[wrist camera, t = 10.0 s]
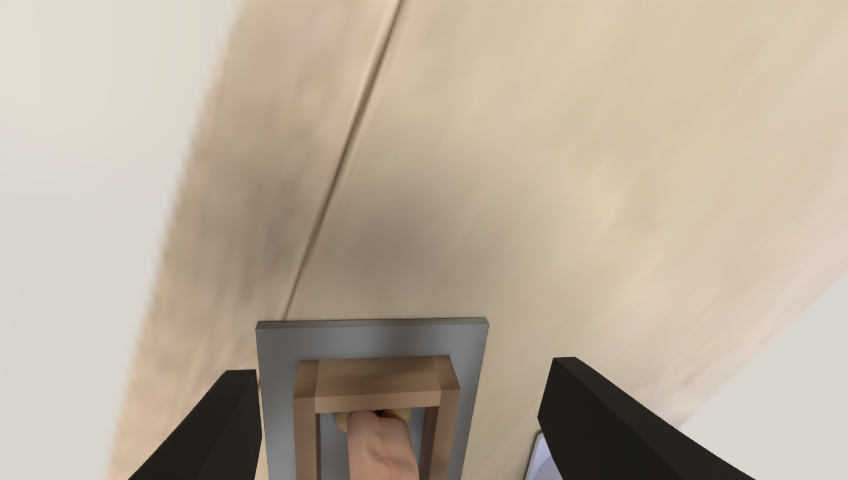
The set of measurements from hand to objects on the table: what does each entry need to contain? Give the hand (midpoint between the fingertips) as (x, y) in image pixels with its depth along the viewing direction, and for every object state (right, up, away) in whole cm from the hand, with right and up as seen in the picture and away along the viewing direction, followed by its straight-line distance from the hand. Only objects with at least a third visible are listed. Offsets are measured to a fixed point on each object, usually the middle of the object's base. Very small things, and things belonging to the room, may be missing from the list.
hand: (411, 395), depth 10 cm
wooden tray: (-3, -8, +14) cm, 17 cm away
